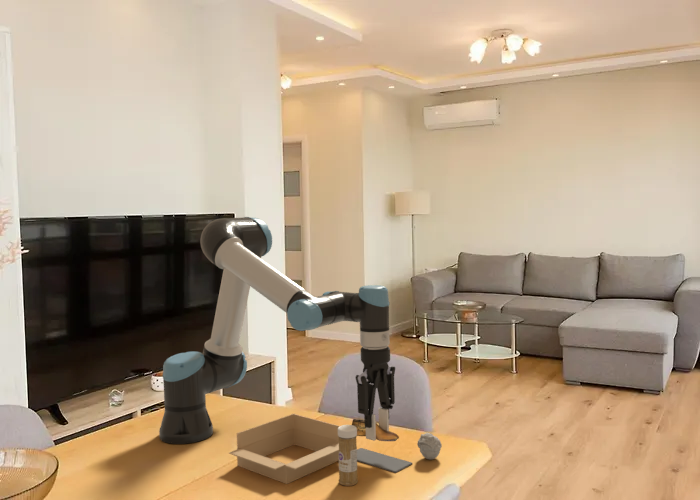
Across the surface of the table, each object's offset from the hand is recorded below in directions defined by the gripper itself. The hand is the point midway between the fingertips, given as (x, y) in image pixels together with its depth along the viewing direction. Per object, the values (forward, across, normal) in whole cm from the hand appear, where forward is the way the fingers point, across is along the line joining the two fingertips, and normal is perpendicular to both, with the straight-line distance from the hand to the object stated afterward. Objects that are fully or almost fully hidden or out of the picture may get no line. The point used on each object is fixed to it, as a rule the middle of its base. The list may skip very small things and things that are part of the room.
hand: (377, 436), depth 172 cm
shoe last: (0, 0, 0) cm, 1 cm away
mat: (+6, 0, 0) cm, 6 cm away
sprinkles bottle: (+7, -15, -3) cm, 17 cm away
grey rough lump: (+7, +9, -10) cm, 15 cm away
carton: (+6, -16, +16) cm, 23 cm away
